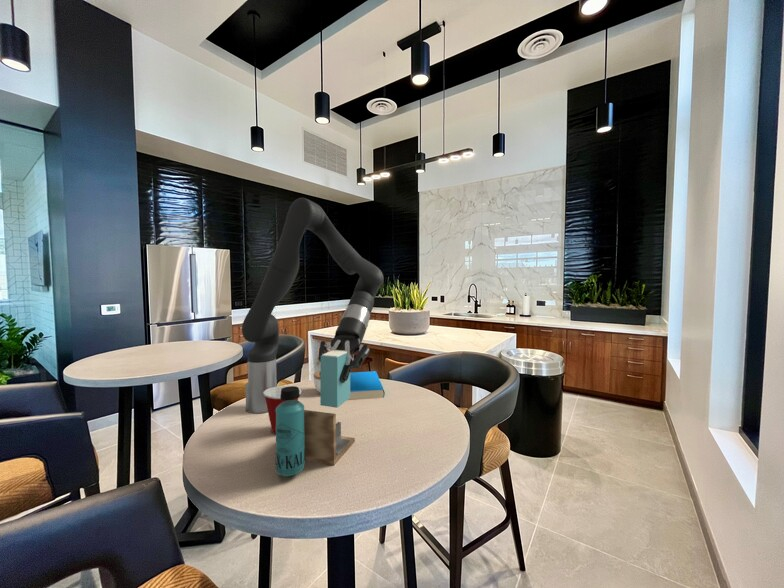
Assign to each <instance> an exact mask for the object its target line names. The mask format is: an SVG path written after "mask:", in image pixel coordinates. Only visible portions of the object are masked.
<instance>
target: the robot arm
mask: <svg viewBox="0 0 784 588" xmlns="http://www.w3.org/2000/svg"><path fill="white" fill-rule="evenodd" d="M306 230H307V231H310V232H312V233H313V234H314V235H316V236H317V237H318V238H319V239H320V240H321V241H322V242H323V244H324V245H325V247H326V249H327V250H328V252H329V253H328V254H329V255H330V256H331V257H332V259H333V260H334V262H336V264H337V265H338V266H339V267H340V268H341V269H342V270H343V272H345V274H347V275H351V276H352V275H354V274H357V275H359V278H358V280H357V283H356V285H355V287H354V291H353V294H352V296H351V298H350V300H349V302H348V304H347V307H346V309H345V310H344V312H343V314H342V316H341V319H340V321H339V324H338V326H337V328H336V330H335V333H334V337H333V338H332V339H331V340H330V341H328V342H327V341H326V342H325V340H321V342H320V344H319V352H318V361H319V362H320V363H321V356H322V355H323V354H325V353H327V352H330V351H332V350H345V351H347V358H346V361H345V364H346V365H345V366H344V367H343V369H342V372H341V375H340V378H339V380H340V381H341V383H345V381H347V379H348V377H349V374H350V373H351V371H352V370H353V369H356V370H358V369H359V368H361V366H362V365H363V363H364V362H365V360H366V358H367V357H368V355H369V354H370V351H371V350H370V348H369V346H368V344H362V342H363V340H364V337H365V335H366V331H367V329H368V327H369V326H368V325H369V322H370V317H371V315H372V311H373V308H374V304H375V298H376V296H377V294H378V291H379V290H380V288H381V286H382V285H383V283H384V273H383V272H382V270H381V269H380V268H379V267H378V266H376V265H375V264H374V263H372V262H370V261H369V260H367V259H365V258H364V257H362V256H361V255H360V254H359V253H358V251H357V250H356V249H355V248H353V246H352V245H351V243H349V242H348V241H347V240H346V239H345V238H344V237H343V236H342V234H341V233H340V232H339V231H338V229H336V227H335V225H334V224H333V223H332V221H331V220H330V219H329V217H328V216H327V214H326V212H325V211H324V209H323V208H322V207H321V206H320V205H319V204H318V203H316V202H314V201H313V200H310V199H308V198H305V197H298V198H297V199H295V200H293V202H292V203H291V204H290V206H289V208H288V211H287V214H286V218H285V221H284V225H283V227H282V231H281V235H280V238H279V239H278V243H277V245H276V248H275V252H274V254H273V256H272V258H271V260H270V262H269V265H268V267H267V270H266V273H265V274H264V275H265V276H264V277H263V281H262V283H261V285H260V287H259V290H258V292H257V293H256V294H257V295H256V297H255V299H254V301H253V303H252V305H251V307H250V309H249V310H248V312H247V314H246V316H245V318H244V320H243V322H242V325H241V334H242V337H243V339H245V341H247V342H249V343H254V345H253V347H252V349H250V350H249V351H248V353H247V382H246V383H245V410H246V412H249V413H253V414H264V413H268V409H267V404H266V400H265V396H264V394H263V392H264V391H265V390H267V389H269V388H273V387H278V384H277V382H278V381H277V353H278V350H279V341H280V340H279V335H280V331H279V329H280V328H279V322H278V319H277V318H276V316H275V315H273V314H272V313H273V311H274V309H275V308H276V306H277V305H278V304H279V302H280V301H281V300H282V299H283V298H284V297H285V296H286V294H287V293H288V292H289V291H290V289H291V288H292V286H293V284H294V282H295V279H296V278H297V275H298V272H299V270H300V245H301V243H302V242H301V241H302V239H303V236H304V234H305V233H306ZM357 352H358V353H357ZM356 353H357V354H356ZM355 354H356V355H355ZM319 371H320V378H321V370H319Z"/></svg>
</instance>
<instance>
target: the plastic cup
mask: <svg viewBox="0 0 784 588" xmlns="http://www.w3.org/2000/svg"><path fill="white" fill-rule="evenodd" d="M285 387H289V386H284V385H283V386H282V385H281V386H277V387H273V388H269V389H267V390H265V391H264V392H263V394H264V396H265V400H266V404H267V409H268V412H267V413H268V419H269V422H270V426H271V432H272V433H273V434H274V435H276V408H277V406H278V405H279V404H280V403H282V402H284V401H287V400H282V399H281V398H280V396H281V389H282V388H285ZM301 393H302V390H301V389H300V388H299V394H300V395H301ZM294 400H298V401H299V398H297V399H294Z"/></svg>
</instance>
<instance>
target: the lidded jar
mask: <svg viewBox="0 0 784 588" xmlns="http://www.w3.org/2000/svg"><path fill="white" fill-rule="evenodd" d="M320 371H321V370H319V371H315V372H314V373H313V383H314V388H315V389H316V390H317V391H318V392H319V394H320V395H321V378H320Z"/></svg>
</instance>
